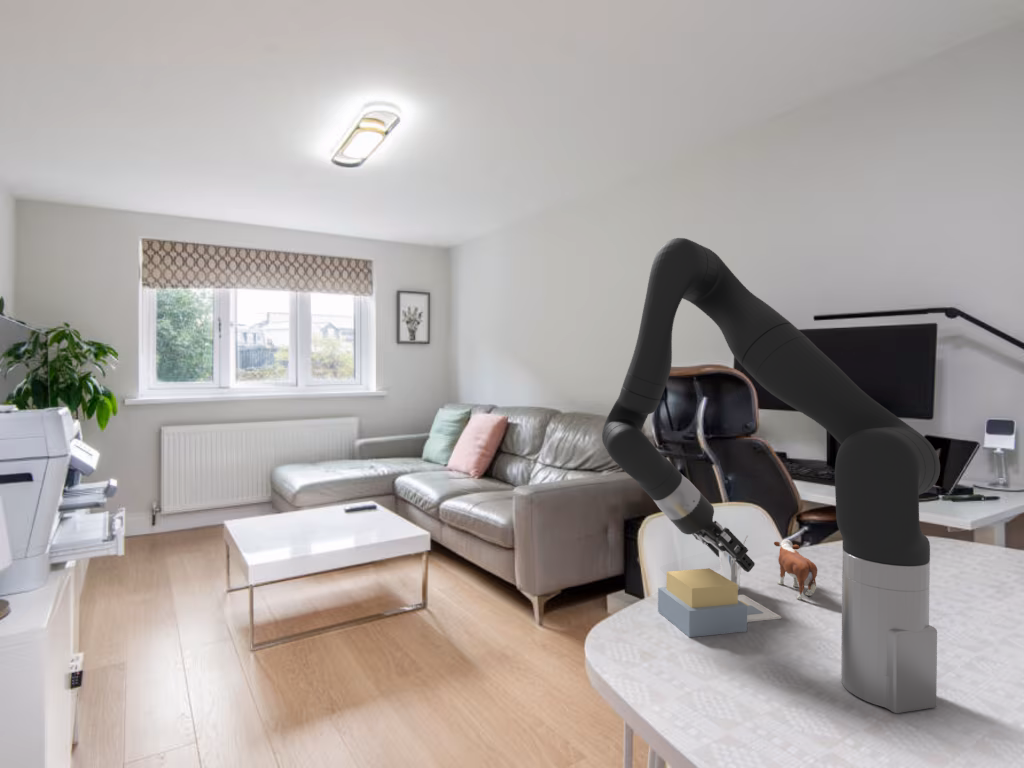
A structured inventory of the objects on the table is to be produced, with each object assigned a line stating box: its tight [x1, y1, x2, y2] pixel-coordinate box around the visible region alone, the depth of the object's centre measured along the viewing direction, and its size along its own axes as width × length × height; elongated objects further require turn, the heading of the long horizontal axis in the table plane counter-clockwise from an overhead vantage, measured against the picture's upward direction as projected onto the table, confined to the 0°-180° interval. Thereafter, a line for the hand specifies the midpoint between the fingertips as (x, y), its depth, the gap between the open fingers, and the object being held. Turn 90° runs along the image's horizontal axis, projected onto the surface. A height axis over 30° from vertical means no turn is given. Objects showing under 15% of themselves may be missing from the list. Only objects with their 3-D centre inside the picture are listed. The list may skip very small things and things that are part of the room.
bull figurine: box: [773, 538, 818, 601], centre depth 108 cm, size 4×13×8 cm, turn 174°
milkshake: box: [718, 535, 749, 591], centre depth 108 cm, size 5×5×10 cm
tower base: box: [657, 568, 748, 638], centre depth 93 cm, size 10×10×7 cm
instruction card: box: [738, 594, 782, 623], centre depth 98 cm, size 10×7×1 cm
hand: (736, 560), depth 108 cm, fingers open, 8 cm apart
